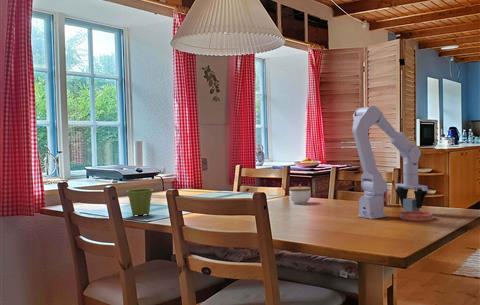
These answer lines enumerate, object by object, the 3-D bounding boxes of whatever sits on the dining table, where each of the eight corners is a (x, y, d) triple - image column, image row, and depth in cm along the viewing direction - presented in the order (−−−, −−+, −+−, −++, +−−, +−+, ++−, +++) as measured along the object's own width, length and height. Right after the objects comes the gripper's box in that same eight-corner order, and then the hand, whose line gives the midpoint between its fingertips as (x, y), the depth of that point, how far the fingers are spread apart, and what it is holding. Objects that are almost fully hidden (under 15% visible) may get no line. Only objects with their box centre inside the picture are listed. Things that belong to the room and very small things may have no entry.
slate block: (412, 214, 189) (411, 200, 189) (403, 213, 193) (403, 199, 193) (419, 213, 191) (419, 199, 191) (410, 212, 195) (410, 198, 195)
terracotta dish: (418, 222, 172) (418, 216, 172) (393, 218, 183) (393, 212, 183) (440, 218, 178) (439, 213, 178) (414, 214, 189) (414, 209, 189)
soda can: (384, 206, 212) (383, 180, 211) (369, 205, 216) (368, 180, 216) (389, 204, 217) (389, 179, 217) (374, 203, 222) (374, 178, 221)
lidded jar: (286, 202, 235) (286, 184, 235) (307, 201, 237) (306, 183, 237) (293, 205, 225) (292, 186, 225) (314, 204, 227) (313, 184, 226)
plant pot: (136, 212, 215) (135, 188, 215) (158, 213, 211) (158, 188, 211) (121, 217, 204) (120, 191, 204) (145, 217, 200) (144, 191, 200)
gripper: (432, 174, 188) (433, 207, 188) (403, 172, 200) (404, 204, 201) (420, 175, 184) (421, 209, 184) (391, 173, 197) (392, 205, 197)
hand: (411, 206), depth 192 cm, fingers open, 7 cm apart
